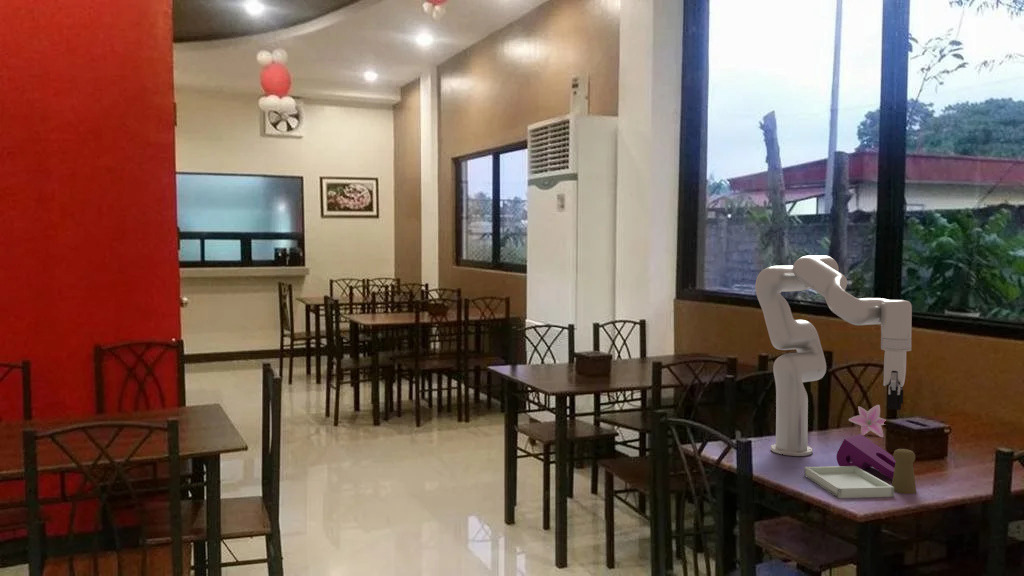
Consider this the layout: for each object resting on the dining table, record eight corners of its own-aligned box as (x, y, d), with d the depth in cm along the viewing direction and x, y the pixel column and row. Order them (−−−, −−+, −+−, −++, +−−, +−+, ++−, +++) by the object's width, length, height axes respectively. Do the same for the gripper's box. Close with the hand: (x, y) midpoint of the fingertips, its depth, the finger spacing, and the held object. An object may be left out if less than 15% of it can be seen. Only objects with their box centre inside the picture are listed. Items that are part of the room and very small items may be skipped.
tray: (804, 475, 218) (804, 467, 218) (855, 474, 218) (855, 465, 218) (838, 498, 198) (838, 488, 198) (894, 496, 199) (894, 487, 198)
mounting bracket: (902, 495, 218) (848, 456, 231) (916, 471, 215) (860, 434, 228) (886, 501, 213) (832, 461, 225) (900, 478, 209) (844, 438, 222)
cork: (910, 487, 207) (911, 447, 206) (920, 494, 201) (921, 452, 200) (887, 486, 207) (888, 446, 207) (896, 493, 201) (897, 452, 201)
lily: (843, 435, 270) (848, 414, 265) (856, 417, 277) (861, 397, 272) (877, 450, 263) (883, 430, 258) (890, 432, 270) (896, 411, 265)
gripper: (883, 340, 219) (883, 399, 220) (878, 347, 204) (877, 410, 205) (912, 342, 215) (912, 402, 216) (909, 348, 200) (909, 413, 201)
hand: (895, 406), depth 210 cm, fingers open, 9 cm apart
